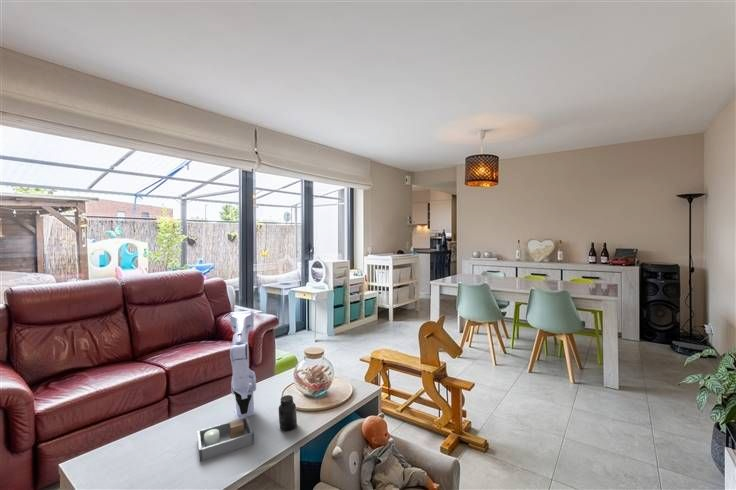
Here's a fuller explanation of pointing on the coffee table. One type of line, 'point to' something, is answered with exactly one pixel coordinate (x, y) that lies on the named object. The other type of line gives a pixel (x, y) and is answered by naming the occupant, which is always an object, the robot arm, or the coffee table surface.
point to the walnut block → (236, 428)
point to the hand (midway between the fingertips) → (242, 408)
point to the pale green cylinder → (211, 437)
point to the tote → (224, 440)
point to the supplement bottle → (287, 414)
